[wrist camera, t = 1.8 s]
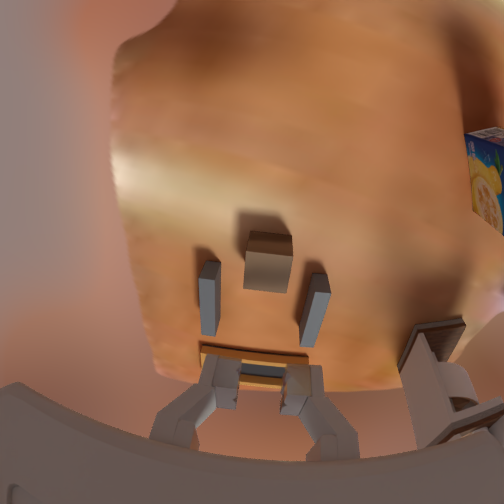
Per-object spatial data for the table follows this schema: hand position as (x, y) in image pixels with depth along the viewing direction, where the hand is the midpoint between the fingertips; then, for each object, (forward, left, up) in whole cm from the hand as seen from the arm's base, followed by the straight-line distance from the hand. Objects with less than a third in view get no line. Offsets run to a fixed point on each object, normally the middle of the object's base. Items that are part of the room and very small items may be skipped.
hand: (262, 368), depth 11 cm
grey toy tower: (+23, +32, -23) cm, 46 cm away
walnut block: (+8, 0, -23) cm, 24 cm away
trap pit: (+31, 0, -23) cm, 39 cm away
